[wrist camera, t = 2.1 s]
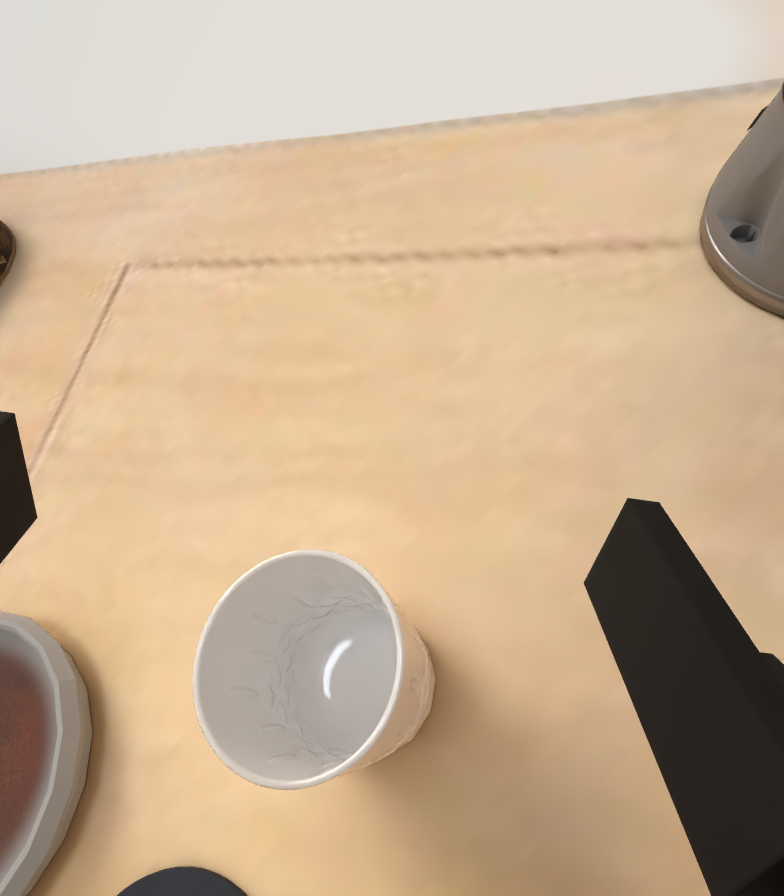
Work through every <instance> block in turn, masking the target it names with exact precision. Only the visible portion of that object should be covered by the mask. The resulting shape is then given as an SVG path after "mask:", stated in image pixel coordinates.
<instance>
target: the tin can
mask: <svg viewBox="0 0 784 896" xmlns="http://www.w3.org/2000/svg"><path fill="white" fill-rule="evenodd" d="M14 256H15V237H14V236H13V234H12V233H11V231H10V230H9V228H8V227H7V226H6V225H5V224H4V223H3V222H2V221H1V220H0V284H1V283H2V281H3V280H4V278H5V277H6V275H7V274H8V272H9V270H10V267H11V264H12V262H13V259H14Z"/></svg>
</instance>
